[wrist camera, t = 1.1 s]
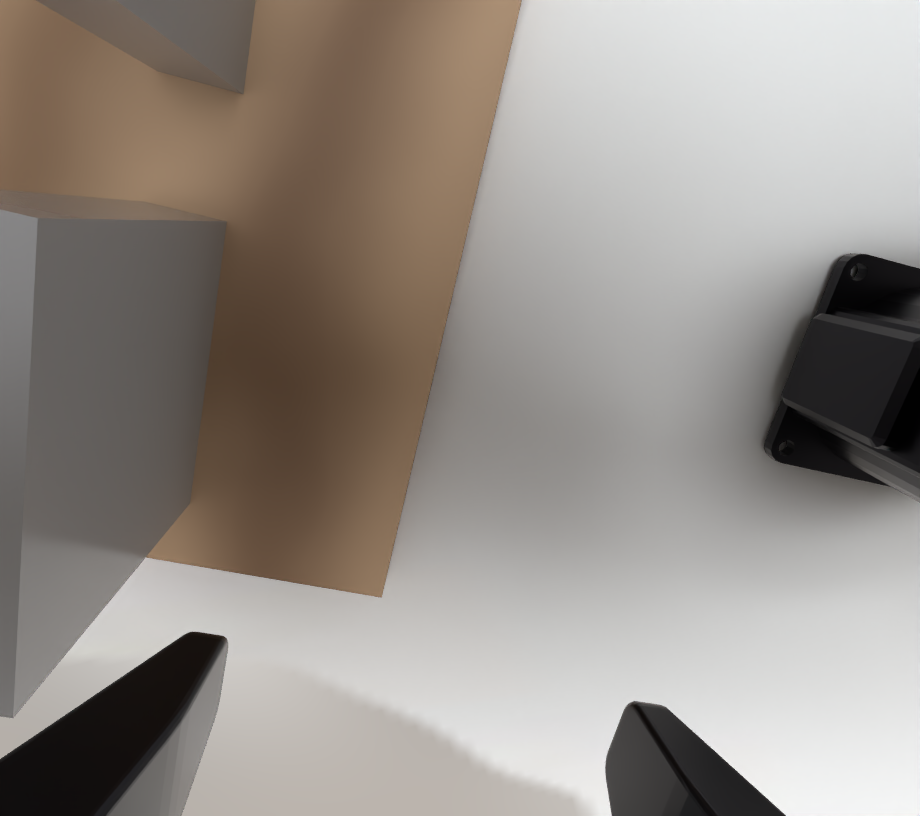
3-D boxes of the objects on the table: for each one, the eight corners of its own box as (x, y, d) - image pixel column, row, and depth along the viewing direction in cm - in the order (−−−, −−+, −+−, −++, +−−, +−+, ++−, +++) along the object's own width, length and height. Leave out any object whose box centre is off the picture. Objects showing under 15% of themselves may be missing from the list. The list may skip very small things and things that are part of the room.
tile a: (226, 221, 15) (38, 218, 8) (190, 503, 18) (13, 717, 10) (136, 199, 15) (-151, 174, 8) (110, 488, 17) (-134, 697, 10)
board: (574, -240, 14) (587, -282, 13) (383, 576, 20) (381, 597, 19) (-418, -598, 12) (-510, -688, 10) (-304, 455, 17) (-355, 472, 16)
